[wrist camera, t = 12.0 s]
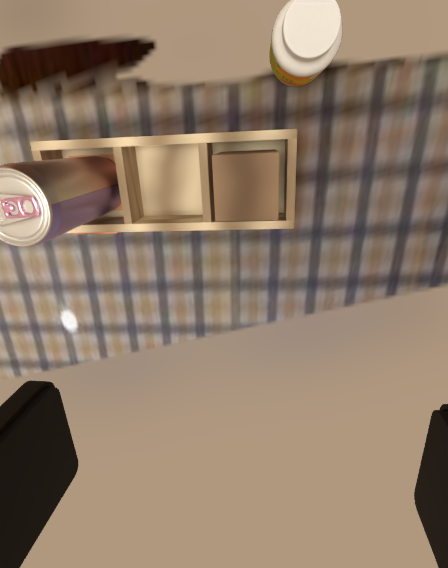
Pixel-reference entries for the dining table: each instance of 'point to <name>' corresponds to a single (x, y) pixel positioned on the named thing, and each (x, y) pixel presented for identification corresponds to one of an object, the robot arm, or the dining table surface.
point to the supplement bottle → (305, 40)
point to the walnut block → (246, 185)
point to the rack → (176, 178)
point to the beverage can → (54, 197)
